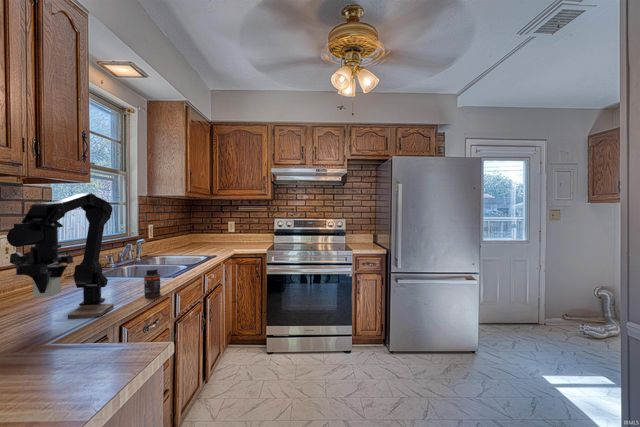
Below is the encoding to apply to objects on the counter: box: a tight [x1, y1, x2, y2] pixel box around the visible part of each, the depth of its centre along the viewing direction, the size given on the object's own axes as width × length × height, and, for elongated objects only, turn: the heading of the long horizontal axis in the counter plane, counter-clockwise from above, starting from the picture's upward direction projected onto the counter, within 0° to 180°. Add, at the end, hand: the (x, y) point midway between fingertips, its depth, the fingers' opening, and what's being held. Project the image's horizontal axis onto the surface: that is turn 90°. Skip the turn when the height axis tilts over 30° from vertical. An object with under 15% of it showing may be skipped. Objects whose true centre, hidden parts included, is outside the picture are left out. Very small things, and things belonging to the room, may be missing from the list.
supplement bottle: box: [143, 267, 161, 299], centre depth 133 cm, size 6×6×11 cm
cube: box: [32, 276, 62, 298], centre depth 103 cm, size 5×5×5 cm
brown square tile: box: [67, 303, 115, 319], centre depth 113 cm, size 10×10×1 cm
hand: (47, 290), depth 103 cm, fingers closed on cube, 5 cm apart
